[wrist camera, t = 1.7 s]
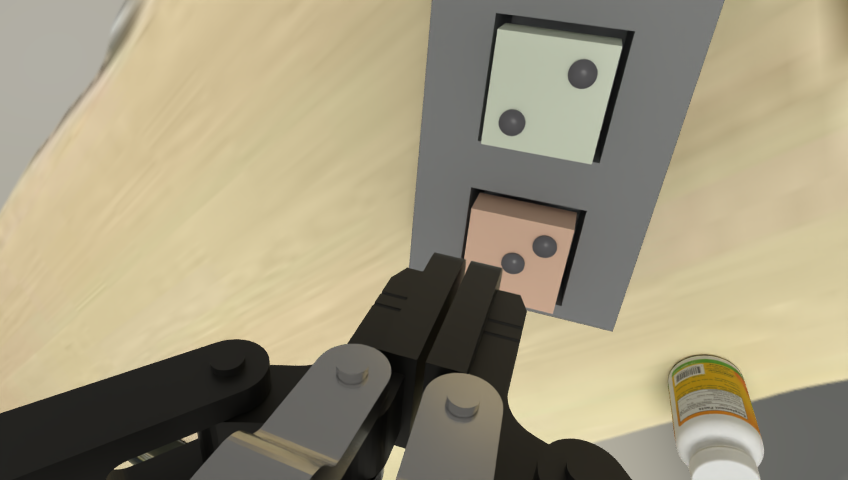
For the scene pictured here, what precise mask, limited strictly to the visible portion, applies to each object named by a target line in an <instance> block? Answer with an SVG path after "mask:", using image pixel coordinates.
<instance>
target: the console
mask: <svg viewBox="0 0 848 480" xmlns="http://www.w3.org/2000/svg"><path fill="white" fill-rule="evenodd" d="M724 1H725V0H432V6H431V18H430V30H429V41H428V53H427V65H426V76H425V88H424V100H423V111H422V123H421V135H420V146H419V158H418V170H417V182H416V193H415V205H414V217H413V228H412V240H411V252H410V263H409V268H411V269H415V270H419V271H424V269H425V267H426V265H427V264H428V262H429V260H430V258H431V257H432V255H433V253H435V252H436V253H440V254H445V255H449V256H453V257H457V258H462V259H464V256H465V249H466V243H467V236H468V229H469V222H470V215H471V208H472V206H473V205H474V203H475V201H476V199H477V197H478V195H479V193H485V194H490V195H495V196H500V197H505V198H509V199H514V200H519V201H524V202H529V203H534V204H539V205H543V206H548V207H553V208H558V209H563V210H568V211H573V212H577V216H576V223H575V231H574V234H573V238H572V242H571V246H570V250H569V254H568V257H567V261H566V265H565V269H564V273H563V277H562V280H561V284H560V288H559V292H558V296H557V300H556V304H555V307H554V311H553V314H550V313H546V312H542V311H538V310H534V309H530V308H526V307H525V308H526V310H528V311H532V312H536V313H540V314H544V315H548V316H552V317H556V318H560V319H564V320H568V321H572V322H576V323H580V324H584V325H588V326H592V327H596V328H600V329H604V330H608V331H612V332H613V329H614V326H615V323H616V320H617V317H618V314H619V311H620V308H621V305H622V302H623V299H624V296H625V293H626V290H627V287H628V285H629V282H630V279H631V276H632V273H633V270H634V267H635V264H636V261H637V258H638V255H639V252H640V249H641V246H642V243H643V240H644V237H645V234H646V231H647V228H648V225H649V222H650V219H651V217H652V214H653V211H654V208H655V205H656V202H657V199H658V196H659V193H660V190H661V187H662V184H663V181H664V178H665V175H666V172H667V169H668V166H669V163H670V160H671V157H672V154H673V151H674V148H675V146H676V143H677V140H678V137H679V134H680V131H681V128H682V125H683V122H684V119H685V116H686V113H687V110H688V107H689V104H690V101H691V98H692V95H693V92H694V89H695V86H696V83H697V80H698V77H699V75H700V72H701V69H702V66H703V63H704V60H705V57H706V54H707V51H708V48H709V45H710V42H711V39H712V36H713V33H714V30H715V27H716V24H717V21H718V18H719V15H720V12H721V9H722V6H723V4H724ZM505 23H511V24H518V25H525V26H533V27H540V28H548V29H555V30H562V31H570V32H577V33H584V34H592V35H599V36H606V37H614V38H621V39H622V50H621V54H620V58H619V61H618V65H617V69H616V73H615V77H614V81H613V84H612V88H611V92H610V96H609V100H608V104H607V108H606V111H605V115H604V119H603V123H602V127H601V131H600V134H599V138H598V142H597V146H596V150H595V154H594V158H593V161H592V164H586V163H581V162H575V161H570V160H565V159H559V158H554V157H549V156H543V155H538V154H533V153H527V152H522V151H516V150H511V149H506V148H500V147H495V146H490V145H484V144H481V140H482V133H483V126H484V119H485V112H486V105H487V99H488V92H489V85H490V78H491V71H492V64H493V57H494V51H495V44H496V37H497V30H498V28H500V27H501V26H502V25H504V24H505Z"/></svg>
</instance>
